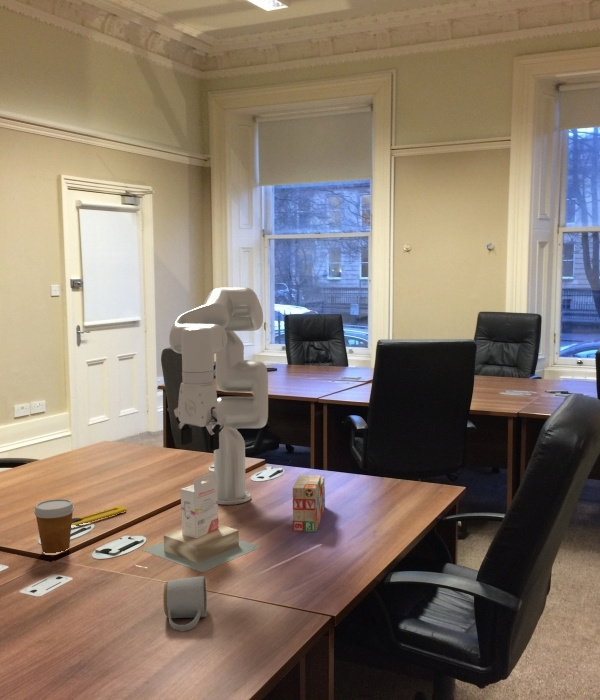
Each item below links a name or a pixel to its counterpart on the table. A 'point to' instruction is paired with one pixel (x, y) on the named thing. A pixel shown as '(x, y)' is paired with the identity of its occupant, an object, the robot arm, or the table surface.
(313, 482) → the stack of blocks
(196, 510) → the ink cartridge box
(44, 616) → the table surface
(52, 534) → the disposable coffee cup
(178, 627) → the ceramic mug
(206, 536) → the base block
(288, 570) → the table surface
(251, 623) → the table surface
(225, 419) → the robot arm
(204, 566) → the mat
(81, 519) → the utility knife
